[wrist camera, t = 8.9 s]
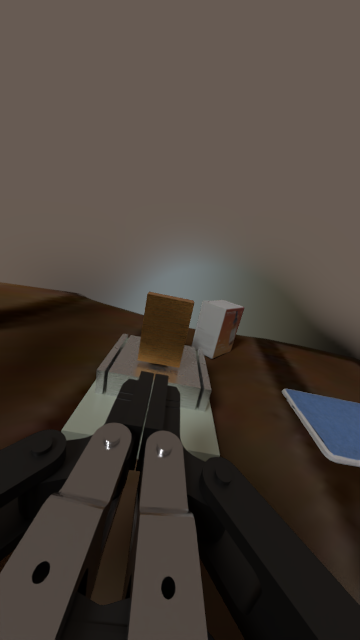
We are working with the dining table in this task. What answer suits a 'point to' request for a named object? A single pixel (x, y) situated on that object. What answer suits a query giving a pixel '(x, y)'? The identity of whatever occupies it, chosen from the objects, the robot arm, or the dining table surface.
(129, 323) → the dining table surface
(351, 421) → the tablet computer
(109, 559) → the dining table surface
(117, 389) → the grey slotted block
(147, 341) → the brown l-shaped piece
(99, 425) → the socket board
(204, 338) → the small box
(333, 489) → the dining table surface
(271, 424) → the dining table surface
